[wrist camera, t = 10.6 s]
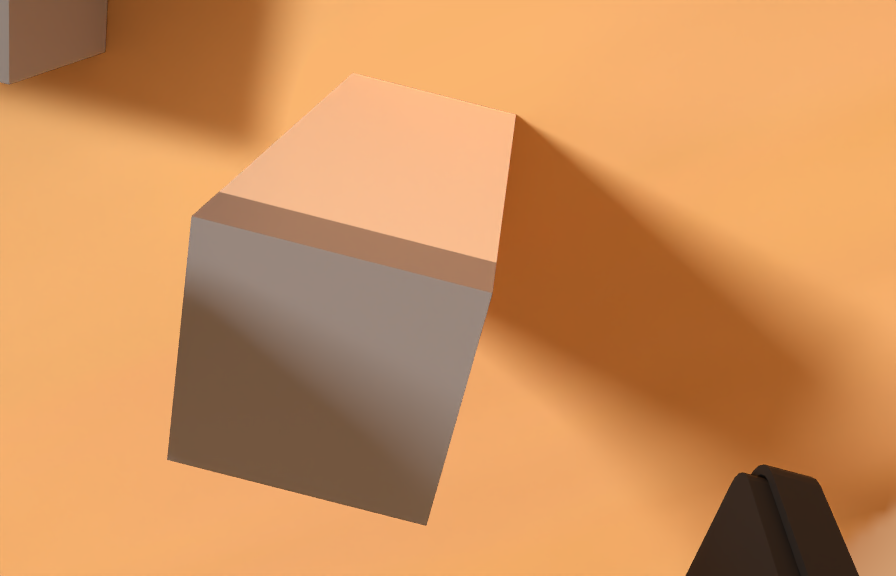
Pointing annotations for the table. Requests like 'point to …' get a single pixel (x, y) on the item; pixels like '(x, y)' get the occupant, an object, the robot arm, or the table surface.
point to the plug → (344, 298)
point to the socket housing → (48, 35)
